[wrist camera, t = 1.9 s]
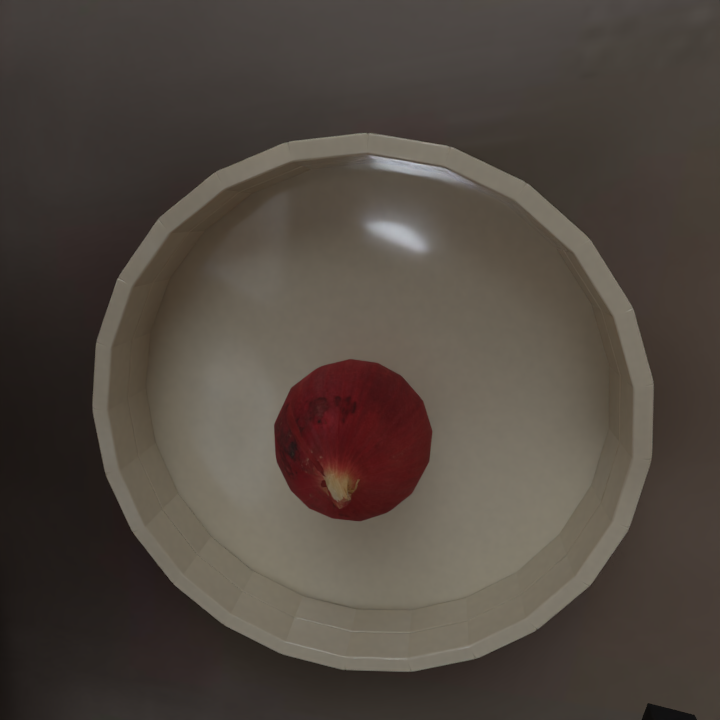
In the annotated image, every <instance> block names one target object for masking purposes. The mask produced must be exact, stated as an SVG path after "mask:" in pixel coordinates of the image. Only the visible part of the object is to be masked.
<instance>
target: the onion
mask: <svg viewBox="0 0 720 720" xmlns="http://www.w3.org/2000/svg"><path fill="white" fill-rule="evenodd" d="M274 436H275V455H276V460H277V464H278V466H279V468H280V470H281V472H282V474H283V476H284V478H285V480H286V482H287V484H288V486H289V488H290V490H291V491H292V492H293V493H294V494H295V495H296V496H297V497H298V498H299V499H300V500H301V501H302V502H303V503H304V504H305V505H306V506H307V507H308V508H309V509H312V510H314V511H316V512H319V513H321V514H323V515H325V516H328V517H330V518H332V519H341V520H350V521H364V520H367V519H370V518H373V517H376V516H379V515H382V514H385V513H387V512H389V511H391V510H392V509H393V508H395V507H396V506H397V505H398V504H400V503H401V502H402V501H403V500H405V499H406V498H407V497H408V496H409V495H411V494H412V493H413V491H414V489H415V487H416V485H417V483H418V482H419V480H420V478H421V476H422V474H423V472H424V471H425V469H426V467H427V465H428V463H429V460H430V451H431V441H432V428H431V425H430V421H429V418H428V415H427V412H426V408H425V405H424V402H423V400H422V399H421V397H420V396H419V395H418V394H417V393H416V392H415V391H414V389H413V388H412V387H411V386H410V385H409V384H408V382H407V381H406V380H405V379H404V378H403V377H402V376H401V375H399V374H398V373H396V372H394V371H392V370H390V369H388V368H386V367H385V366H383V365H381V364H379V363H376V362H369V361H362V360H354V359H348V360H344V361H340V362H336V363H331V364H327V365H323V366H321V367H319V368H317V369H315V370H314V371H312V372H311V373H310V374H308V375H307V376H306V377H304V378H303V379H302V380H301V381H299V382H298V383H297V384H295V385H294V386H293V387H291V389H290V391H289V393H288V395H287V397H286V399H285V402H284V404H283V406H282V408H281V410H280V412H279V414H278V417H277V419H276V421H275V424H274Z"/></svg>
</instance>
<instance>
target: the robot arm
mask: <svg viewBox="0 0 720 720" xmlns="http://www.w3.org/2000/svg"><path fill="white" fill-rule="evenodd" d="M642 720H697V719H696V717H695V715H692V714H688V713H684V712H680V711H676V710H673V709H669V708H665V707H661V706H657V705H653V704H649V703H648V704H647V707H646V710H645V712H644V715H643V718H642Z"/></svg>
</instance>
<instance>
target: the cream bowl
mask: <svg viewBox="0 0 720 720" xmlns="http://www.w3.org/2000/svg"><path fill="white" fill-rule="evenodd" d="M632 308H633V307H632V305H631V304H630V302H629V300H628V299H627V297H626V296H625V294H624V292H623V291H622V289H621V288H620V286H619V284H618V283H617V281H616V280H615V278H614V276H613V275H612V273H611V272H610V270H609V268H608V267H607V265H606V264H605V262H604V260H603V259H602V257H601V255H600V254H599V252H598V251H597V249H596V247H595V246H594V244H593V243H592V241H591V240H590V239H589V237H588V236H586V235H585V234H584V233H583V232H582V231H581V230H580V229H579V228H577V227H576V226H575V225H574V224H573V223H572V222H571V221H570V220H568V219H567V218H566V217H565V216H564V215H563V214H562V213H561V212H559V211H558V210H557V209H556V208H555V207H554V206H553V205H552V204H550V203H549V202H548V201H547V200H546V199H545V198H544V197H543V196H541V195H540V194H539V193H538V192H537V191H536V190H535V189H534V188H532V187H531V186H530V185H529V184H526V183H525V182H524V181H522V180H520V179H518V178H516V177H514V176H512V175H510V174H508V173H506V172H504V171H501V170H499V169H497V168H495V167H493V166H491V165H489V164H487V163H485V162H483V161H481V160H478V159H476V158H474V157H472V156H470V155H468V154H466V153H464V152H462V151H460V150H458V149H455V148H453V147H449V146H447V145H441V144H435V143H429V142H423V141H417V140H411V139H405V138H399V137H393V136H387V135H381V134H375V133H358V134H349V135H340V136H332V137H323V138H314V139H306V140H297V141H290V142H288V143H287V142H285V143H283V144H280V145H278V146H276V147H273V148H271V149H268V150H266V151H264V152H261V153H259V154H257V155H254V156H252V157H249V158H247V159H245V160H242V161H240V162H238V163H235V164H233V165H230V166H228V167H226V168H223V169H221V170H219V171H217V172H216V173H213V174H212V175H211V176H210V177H208V178H207V179H206V180H205V181H203V182H202V183H201V184H200V185H199V186H197V187H196V188H195V189H194V190H192V191H191V192H190V193H189V194H188V195H186V196H185V197H184V198H183V199H181V200H180V201H179V202H178V203H177V204H175V205H174V206H173V207H172V208H170V209H169V210H168V211H167V212H165V213H164V214H163V215H162V216H161V217H159V220H157V221H156V223H155V224H154V226H153V227H152V228H151V230H150V231H149V233H148V234H147V236H146V237H145V239H144V240H143V242H142V243H141V244H140V246H139V247H138V249H137V250H136V252H135V253H134V255H133V256H132V258H131V259H130V260H129V262H128V263H127V265H126V266H125V268H124V269H123V271H122V272H121V274H120V275H119V278H118V279H117V281H116V284H115V287H114V290H113V293H112V296H111V299H110V302H109V305H108V308H107V311H106V314H105V317H104V320H103V323H102V326H101V329H100V332H99V335H98V338H97V343H96V351H95V368H94V386H93V403H92V408H93V410H92V411H93V416H94V421H95V426H96V431H97V436H98V441H99V446H100V451H101V456H102V461H103V466H104V471H105V475H106V477H107V479H108V481H109V484H110V486H111V488H112V490H113V492H114V494H115V496H116V498H117V501H118V503H119V505H120V507H121V509H122V511H123V513H124V516H125V518H126V520H127V522H128V524H129V526H130V528H131V531H132V532H133V533H134V535H135V536H136V537H137V539H138V540H139V541H140V543H141V544H142V545H143V546H144V548H145V549H146V550H147V551H148V553H149V554H150V555H151V556H152V558H153V559H154V560H155V562H156V563H157V564H158V565H159V567H160V568H161V569H162V570H163V572H164V573H165V574H166V576H167V577H168V578H169V579H170V581H171V582H172V583H173V584H174V585H175V586H176V587H177V588H179V589H180V590H181V591H182V592H184V593H185V594H186V595H187V596H188V597H190V598H191V599H192V600H193V601H195V602H196V603H197V604H198V605H200V606H201V607H202V608H203V609H204V610H206V611H207V612H208V613H209V614H211V615H212V616H213V617H214V618H216V619H217V620H218V621H219V622H220V623H222V624H224V625H225V626H227V627H229V628H231V629H232V630H234V631H236V632H238V633H240V634H242V635H244V636H246V637H248V638H250V639H252V640H254V641H256V642H258V643H260V644H262V645H264V646H266V647H268V648H270V649H272V650H274V651H276V652H278V653H280V654H281V653H282V654H283V655H287V656H290V657H294V658H298V659H302V660H306V661H310V662H314V663H318V664H322V665H326V666H329V667H333V668H337V669H341V670H345V669H346V670H358V671H391V672H410V671H412V672H414V671H419V670H424V669H429V668H434V667H439V666H444V665H449V664H454V663H459V662H463V661H468V660H473V659H475V658H476V659H478V658H480V657H482V656H484V655H486V654H488V653H490V652H492V651H495V650H497V649H499V648H501V647H503V646H505V645H507V644H509V643H512V642H514V641H516V640H518V639H520V638H522V637H524V636H526V635H529V634H531V633H533V632H535V631H536V629H539V628H540V627H541V626H543V625H544V624H545V623H546V622H547V621H549V620H550V619H551V618H552V617H553V616H555V615H556V614H557V613H558V612H559V611H561V610H562V609H563V608H564V607H565V606H567V605H568V604H569V603H570V602H571V601H573V600H574V599H575V598H576V597H577V596H579V595H580V594H581V593H582V592H583V591H585V590H586V589H587V588H588V587H589V586H590V585H591V584H592V583H593V581H594V580H595V578H596V577H597V575H598V574H599V572H600V571H601V569H602V568H603V567H604V565H605V564H606V562H607V561H608V559H609V558H610V556H611V555H612V553H613V552H614V551H615V549H616V548H617V546H618V545H619V543H620V542H621V540H622V539H623V537H624V536H625V535H626V533H627V532H628V530H629V527H630V525H631V522H632V519H633V515H634V512H635V509H636V506H637V503H638V500H639V497H640V494H641V491H642V488H643V485H644V482H645V479H646V476H647V473H648V470H649V467H650V464H651V459H652V443H653V405H654V385H653V384H654V382H653V378H652V374H651V371H650V367H649V363H648V360H647V356H646V352H645V349H644V345H643V342H642V338H641V334H640V331H639V327H638V323H637V320H636V316H635V312H634V309H632ZM348 359H354V360H362V361H369V362H376V363H379V364H381V365H383V366H385V367H386V368H388V369H390V370H392V371H394V372H396V373H398V374H399V375H401V376H402V377H403V378H404V379H405V380H406V381H407V382H408V384H409V385H410V386H411V387H412V388H413V389H414V391H415V392H416V393H417V394H418V395H419V396H420V397H421V399H422V400H423V402H424V405H425V408H426V412H427V415H428V418H429V421H430V425H431V428H432V441H431V451H430V460H429V463H428V465H427V467H426V469H425V471H424V472H423V474H422V476H421V478H420V480H419V482H418V483H417V485H416V487H415V489H414V491H413V493H412V494H411V495H409V496H408V497H407V498H406V499H405V500H403V501H402V502H401V503H400V504H398V505H397V506H396V507H395V508H393V509H392V510H391V511H389V512H387V513H385V514H382V515H379V516H376V517H373V518H370V519H367V520H364V521H350V520H341V519H332V518H330V517H328V516H325V515H323V514H321V513H319V512H316V511H314V510H312V509H309V508H308V507H307V506H306V505H305V504H304V503H303V502H302V501H301V500H300V499H299V498H298V497H297V496H296V495H295V494H294V493H293V492H292V491H291V490H290V488H289V486H288V484H287V482H286V480H285V478H284V476H283V474H282V472H281V470H280V468H279V466H278V464H277V460H276V455H275V436H274V424H275V421H276V419H277V417H278V414H279V412H280V410H281V408H282V406H283V404H284V402H285V399H286V397H287V395H288V393H289V391H290V389H291V387H293V386H294V385H295V384H297V383H298V382H299V381H301V380H302V379H303V378H304V377H306V376H307V375H308V374H310V373H311V372H312V371H314V370H315V369H317V368H319V367H321V366H323V365H327V364H331V363H336V362H340V361H344V360H348Z"/></svg>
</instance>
